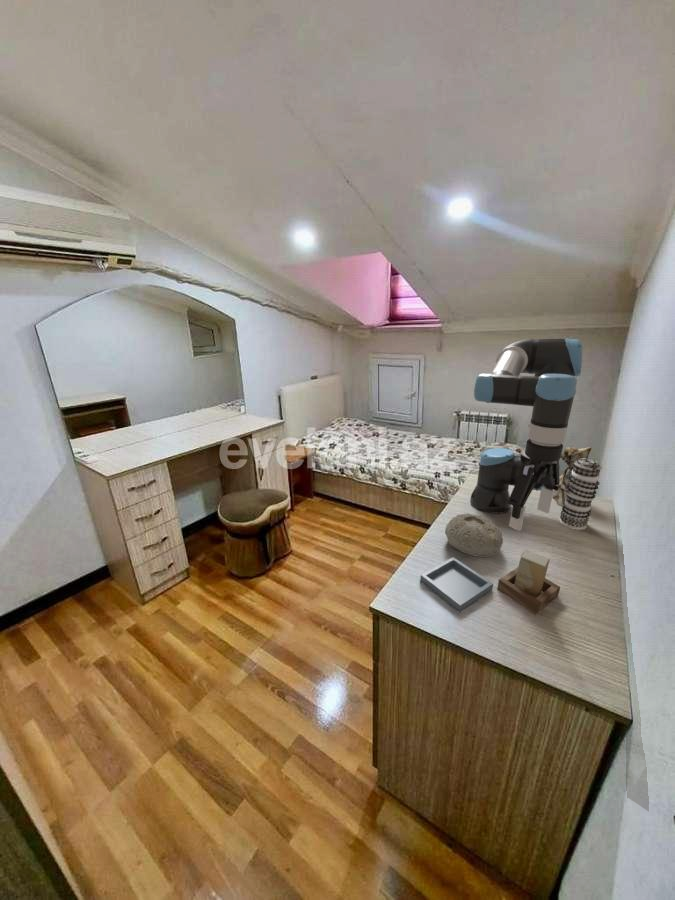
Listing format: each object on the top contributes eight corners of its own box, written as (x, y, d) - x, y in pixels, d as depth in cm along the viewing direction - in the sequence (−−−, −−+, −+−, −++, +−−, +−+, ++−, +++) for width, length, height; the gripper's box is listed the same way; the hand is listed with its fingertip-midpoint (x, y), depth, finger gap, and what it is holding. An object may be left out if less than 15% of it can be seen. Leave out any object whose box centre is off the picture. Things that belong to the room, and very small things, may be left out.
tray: (452, 563, 109) (453, 557, 108) (492, 590, 98) (493, 583, 97) (420, 581, 102) (420, 574, 101) (459, 612, 91) (460, 605, 90)
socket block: (519, 574, 104) (521, 564, 103) (557, 597, 96) (560, 586, 94) (497, 589, 99) (498, 579, 97) (535, 615, 90) (538, 604, 89)
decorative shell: (505, 542, 119) (509, 516, 115) (494, 572, 105) (498, 544, 102) (453, 526, 129) (455, 502, 125) (436, 552, 115) (438, 526, 111)
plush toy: (583, 513, 133) (598, 449, 128) (543, 503, 142) (556, 442, 137) (588, 507, 143) (603, 447, 138) (550, 497, 152) (563, 441, 147)
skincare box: (512, 591, 98) (519, 555, 93) (517, 583, 101) (524, 548, 96) (537, 603, 94) (546, 566, 89) (541, 594, 96) (550, 558, 92)
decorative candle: (552, 516, 133) (566, 455, 124) (577, 516, 133) (593, 455, 124) (566, 530, 124) (582, 466, 116) (593, 530, 124) (611, 465, 115)
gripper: (554, 427, 92) (539, 499, 99) (500, 448, 79) (487, 528, 86) (586, 434, 86) (568, 510, 93) (533, 458, 73) (517, 543, 80)
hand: (529, 519), depth 90 cm, fingers open, 13 cm apart
